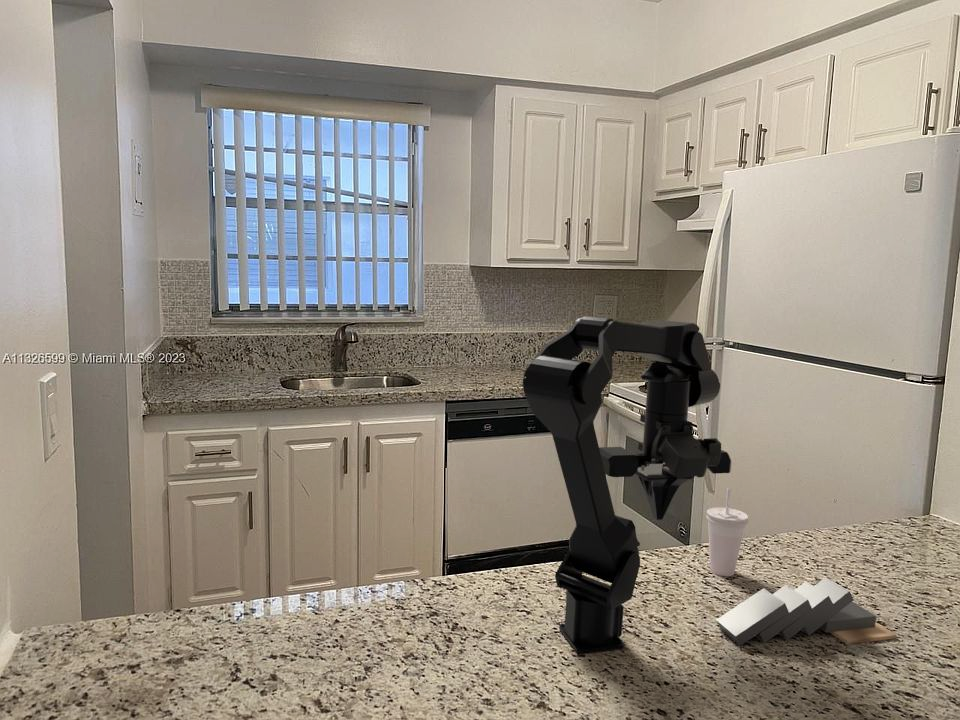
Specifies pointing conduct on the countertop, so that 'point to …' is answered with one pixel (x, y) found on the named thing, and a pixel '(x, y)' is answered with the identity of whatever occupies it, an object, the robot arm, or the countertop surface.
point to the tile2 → (796, 609)
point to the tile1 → (752, 616)
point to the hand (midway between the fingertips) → (657, 519)
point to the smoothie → (725, 537)
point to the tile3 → (818, 604)
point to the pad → (864, 634)
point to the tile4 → (838, 598)
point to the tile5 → (850, 619)
